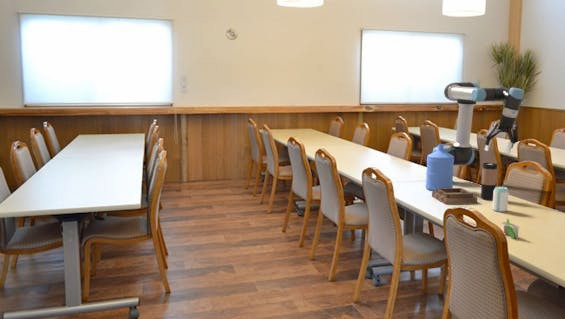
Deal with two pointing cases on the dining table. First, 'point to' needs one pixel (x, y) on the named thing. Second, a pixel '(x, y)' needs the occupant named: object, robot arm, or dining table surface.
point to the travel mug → (488, 180)
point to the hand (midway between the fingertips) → (496, 152)
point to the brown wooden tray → (454, 196)
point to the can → (500, 199)
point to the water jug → (439, 170)
